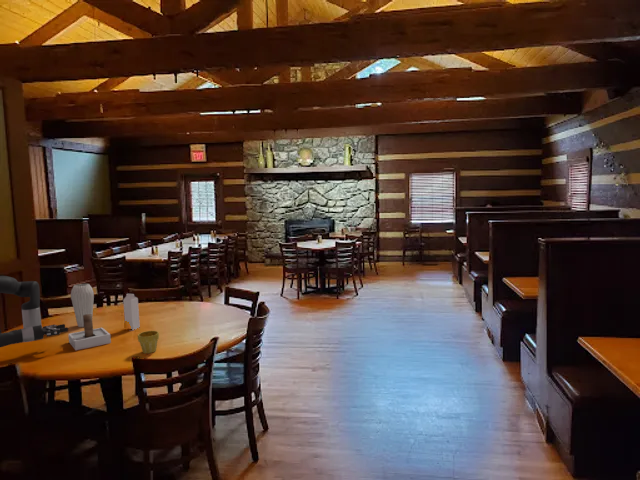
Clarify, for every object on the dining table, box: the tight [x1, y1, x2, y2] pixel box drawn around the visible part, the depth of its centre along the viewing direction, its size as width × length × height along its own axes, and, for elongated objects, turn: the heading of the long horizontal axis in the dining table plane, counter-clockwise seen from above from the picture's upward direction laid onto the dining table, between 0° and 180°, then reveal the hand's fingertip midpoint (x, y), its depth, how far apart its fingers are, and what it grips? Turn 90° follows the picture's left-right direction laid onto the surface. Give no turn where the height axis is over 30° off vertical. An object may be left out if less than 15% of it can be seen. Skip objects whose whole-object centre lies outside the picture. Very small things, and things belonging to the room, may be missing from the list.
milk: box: [122, 293, 141, 331], centre depth 291 cm, size 6×6×22 cm
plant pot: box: [137, 330, 160, 354], centre depth 249 cm, size 10×10×10 cm
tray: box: [67, 327, 112, 351], centre depth 267 cm, size 18×18×5 cm
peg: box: [83, 314, 94, 338], centre depth 266 cm, size 4×4×16 cm
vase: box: [70, 283, 95, 328], centre depth 301 cm, size 13×13×26 cm
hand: (66, 327), depth 259 cm, fingers open, 8 cm apart
